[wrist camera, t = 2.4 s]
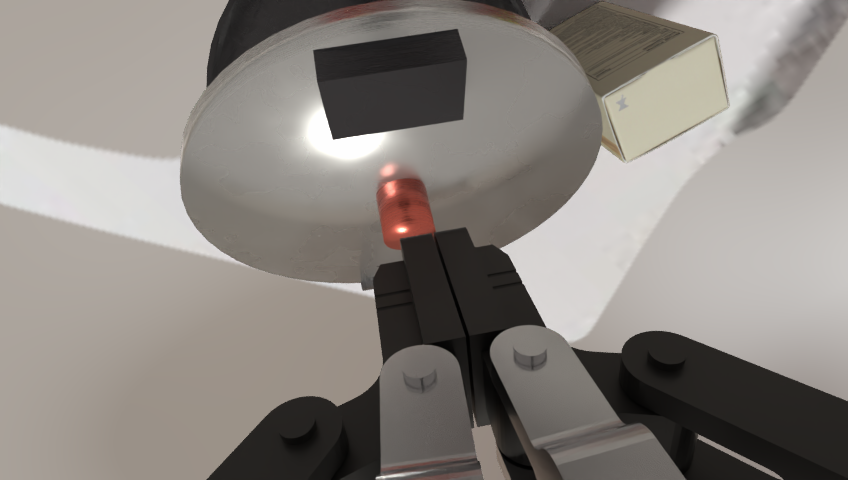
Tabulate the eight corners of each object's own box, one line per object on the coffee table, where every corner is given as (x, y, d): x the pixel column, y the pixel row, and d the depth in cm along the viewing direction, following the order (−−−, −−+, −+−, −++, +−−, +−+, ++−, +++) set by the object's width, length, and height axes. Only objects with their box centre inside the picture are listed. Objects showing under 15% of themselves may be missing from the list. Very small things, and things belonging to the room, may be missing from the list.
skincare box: (542, 100, 40) (619, 170, 29) (519, 45, 37) (594, 100, 27) (625, 54, 39) (735, 109, 28) (607, -5, 37) (719, 32, 26)
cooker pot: (207, -70, 31) (152, -56, 21) (475, -104, 32) (544, -108, 22) (276, 177, 39) (259, 273, 29) (487, 143, 41) (542, 223, 30)
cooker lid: (84, 37, 15) (70, 135, 13) (649, -43, 16) (698, 38, 15) (258, 286, 30) (261, 347, 28) (547, 235, 31) (566, 290, 29)
